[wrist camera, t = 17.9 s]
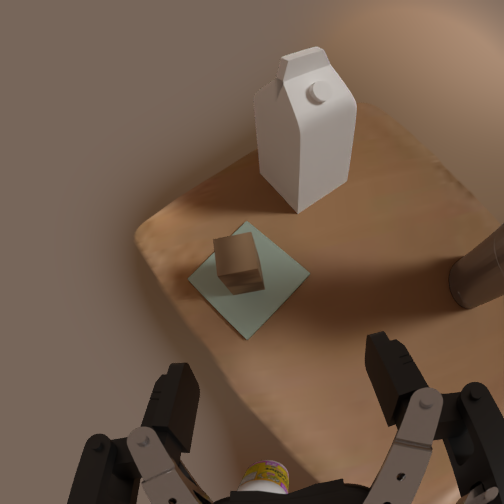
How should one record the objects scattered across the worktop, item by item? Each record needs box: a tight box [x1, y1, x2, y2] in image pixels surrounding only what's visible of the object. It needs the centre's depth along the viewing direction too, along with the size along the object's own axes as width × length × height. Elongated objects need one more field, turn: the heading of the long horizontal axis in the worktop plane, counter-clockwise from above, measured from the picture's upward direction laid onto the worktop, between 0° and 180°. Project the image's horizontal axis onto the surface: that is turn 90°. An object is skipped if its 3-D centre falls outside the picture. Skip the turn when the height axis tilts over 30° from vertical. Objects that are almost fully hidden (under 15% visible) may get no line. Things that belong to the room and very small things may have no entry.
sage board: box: [188, 221, 310, 340], centre depth 44 cm, size 14×14×1 cm
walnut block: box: [213, 232, 265, 295], centre depth 39 cm, size 5×5×10 cm
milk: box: [253, 46, 357, 214], centre depth 38 cm, size 12×12×26 cm
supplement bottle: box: [237, 460, 289, 494], centre depth 26 cm, size 7×7×13 cm
